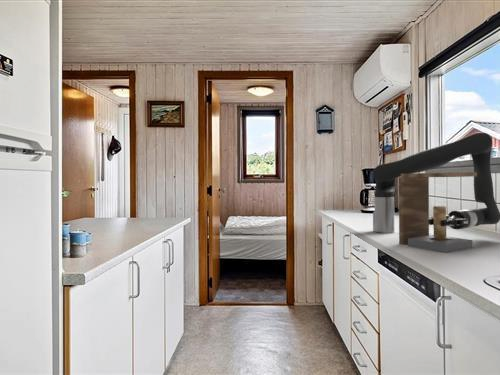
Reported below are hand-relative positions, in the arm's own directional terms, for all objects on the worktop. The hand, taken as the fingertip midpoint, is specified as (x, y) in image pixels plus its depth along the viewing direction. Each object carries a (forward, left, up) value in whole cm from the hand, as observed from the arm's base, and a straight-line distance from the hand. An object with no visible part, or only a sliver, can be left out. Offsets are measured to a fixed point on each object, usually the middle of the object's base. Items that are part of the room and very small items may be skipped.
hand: (435, 222), depth 144 cm
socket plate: (0, +3, -10) cm, 10 cm away
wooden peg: (0, +3, -8) cm, 8 cm away
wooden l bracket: (-2, +4, -10) cm, 10 cm away
